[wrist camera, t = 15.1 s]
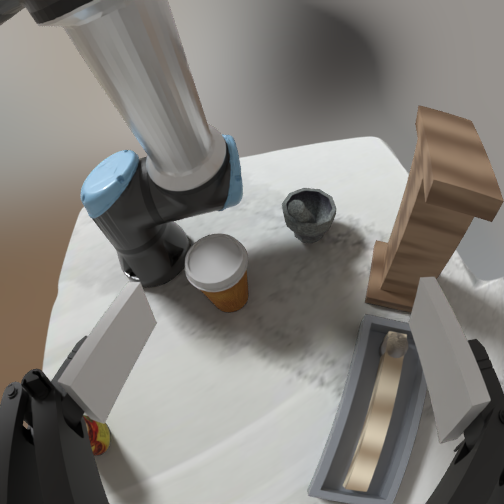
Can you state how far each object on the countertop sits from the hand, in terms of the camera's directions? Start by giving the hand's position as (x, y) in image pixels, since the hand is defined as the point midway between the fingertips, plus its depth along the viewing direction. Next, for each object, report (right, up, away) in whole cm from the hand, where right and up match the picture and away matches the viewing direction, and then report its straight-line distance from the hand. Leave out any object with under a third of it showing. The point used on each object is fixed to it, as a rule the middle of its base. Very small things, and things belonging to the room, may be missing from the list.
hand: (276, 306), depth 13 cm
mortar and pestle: (+10, +6, +44) cm, 45 cm away
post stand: (+26, -3, +35) cm, 43 cm away
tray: (+17, -21, +22) cm, 36 cm away
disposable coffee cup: (-5, -5, +38) cm, 39 cm away
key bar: (+17, -21, +22) cm, 35 cm away
